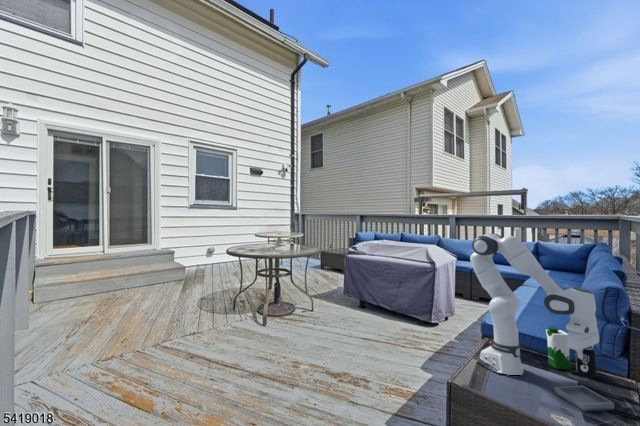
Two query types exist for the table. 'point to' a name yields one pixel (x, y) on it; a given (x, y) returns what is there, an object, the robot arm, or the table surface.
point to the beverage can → (586, 363)
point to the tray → (584, 398)
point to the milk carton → (558, 348)
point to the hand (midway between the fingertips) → (585, 356)
